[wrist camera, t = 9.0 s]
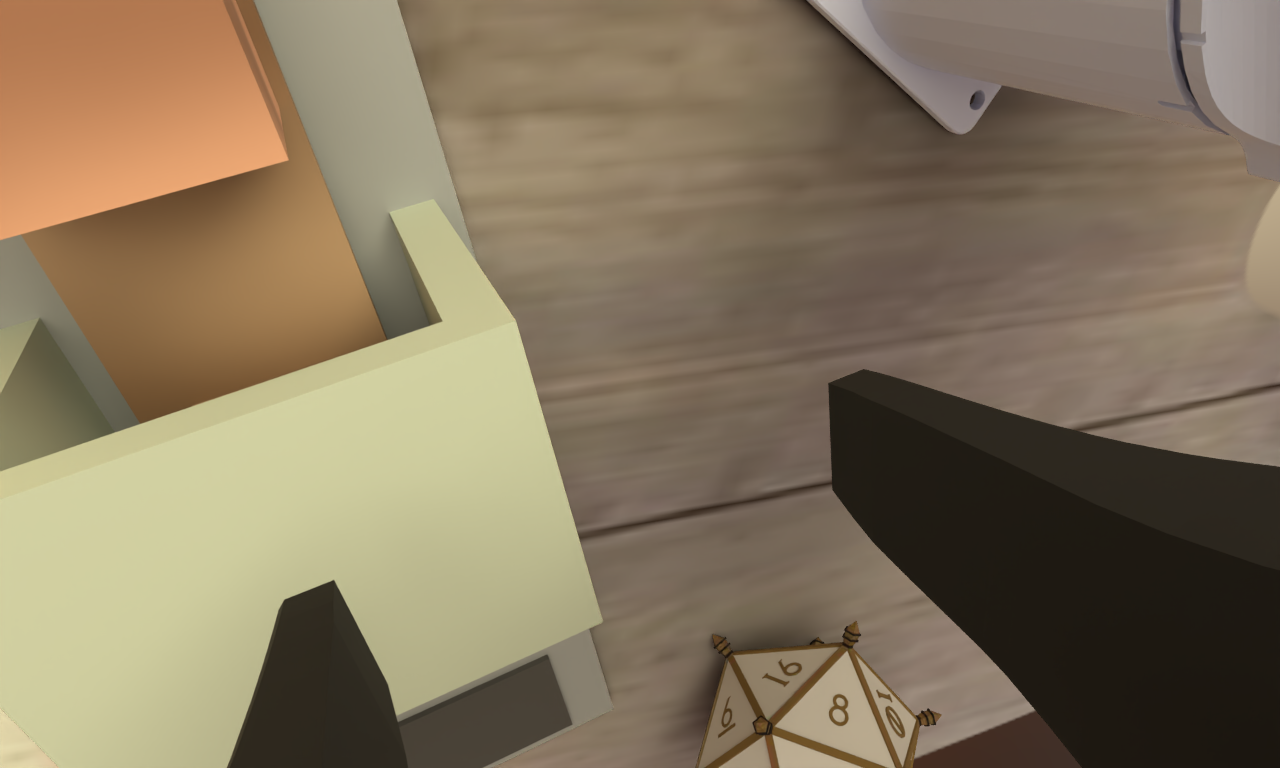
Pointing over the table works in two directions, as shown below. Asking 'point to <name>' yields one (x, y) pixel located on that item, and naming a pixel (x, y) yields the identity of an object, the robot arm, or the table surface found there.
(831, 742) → the game die
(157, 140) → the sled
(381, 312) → the track board
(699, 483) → the table surface
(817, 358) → the table surface
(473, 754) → the pit
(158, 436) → the tunnel
